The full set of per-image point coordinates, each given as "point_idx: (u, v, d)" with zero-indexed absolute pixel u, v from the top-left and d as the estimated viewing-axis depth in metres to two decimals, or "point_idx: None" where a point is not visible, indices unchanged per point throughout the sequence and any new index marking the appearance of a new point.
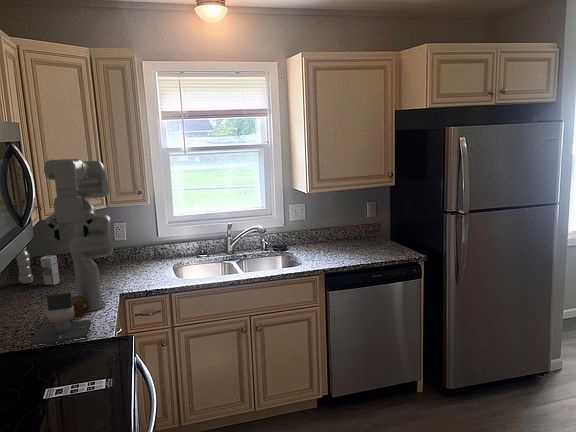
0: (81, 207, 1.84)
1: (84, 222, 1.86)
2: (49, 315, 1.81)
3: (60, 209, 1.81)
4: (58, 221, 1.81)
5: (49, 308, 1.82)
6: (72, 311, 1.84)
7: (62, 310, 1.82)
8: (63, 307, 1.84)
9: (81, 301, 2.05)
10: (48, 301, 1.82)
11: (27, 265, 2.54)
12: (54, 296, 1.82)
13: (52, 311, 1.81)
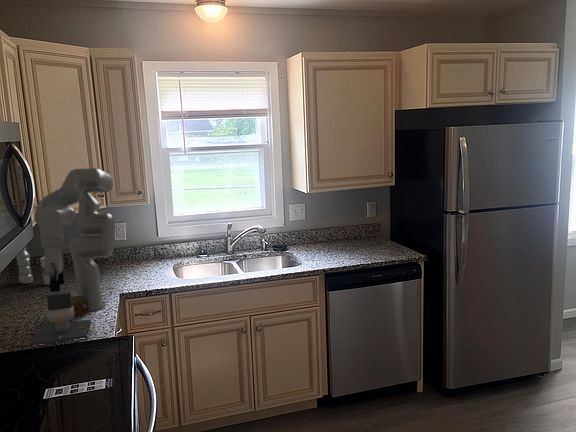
0: None
1: (61, 269, 1.87)
2: (49, 315, 1.81)
3: (59, 258, 1.78)
4: (59, 271, 1.78)
5: (49, 308, 1.82)
6: (72, 311, 1.84)
7: (62, 310, 1.82)
8: (63, 307, 1.84)
9: (81, 301, 2.05)
10: (48, 301, 1.82)
11: (27, 265, 2.54)
12: (54, 296, 1.82)
13: (52, 311, 1.81)
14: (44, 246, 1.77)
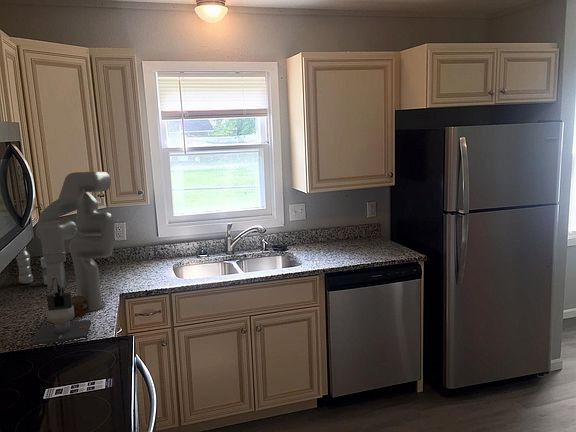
0: None
1: None
2: (49, 315, 1.81)
3: (61, 273, 1.80)
4: (61, 285, 1.79)
5: (49, 308, 1.82)
6: (72, 311, 1.84)
7: (62, 310, 1.82)
8: (63, 307, 1.84)
9: (81, 301, 2.05)
10: (48, 301, 1.82)
11: (27, 265, 2.54)
12: None
13: (52, 311, 1.81)
14: (46, 261, 1.78)
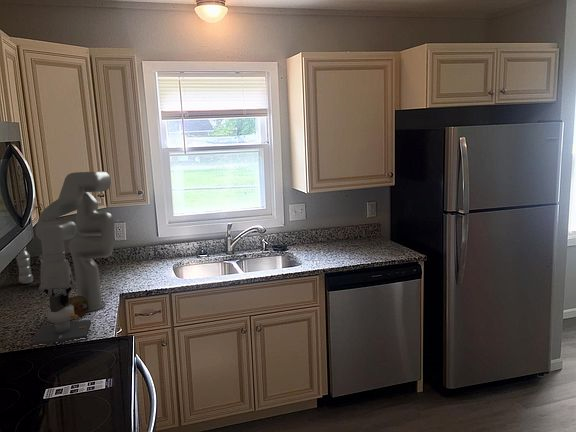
0: None
1: None
2: (61, 315, 1.81)
3: None
4: None
5: (56, 309, 1.81)
6: None
7: (69, 307, 1.85)
8: (65, 306, 1.85)
9: (81, 301, 2.05)
10: (55, 302, 1.80)
11: (27, 265, 2.54)
12: (59, 296, 1.82)
13: (62, 310, 1.82)
14: (60, 260, 1.79)
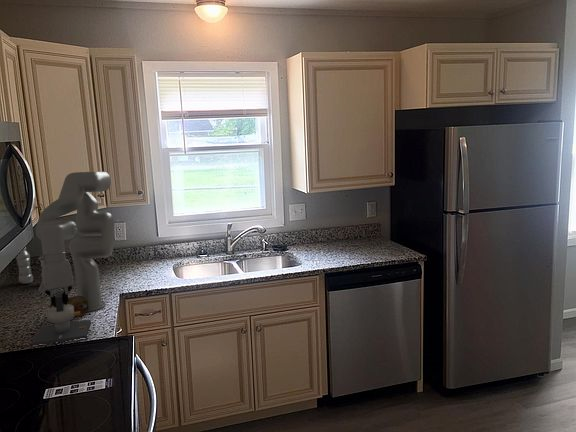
0: None
1: None
2: (68, 313, 1.82)
3: None
4: None
5: (63, 308, 1.81)
6: None
7: (69, 306, 1.86)
8: (63, 306, 1.86)
9: (81, 301, 2.05)
10: (62, 301, 1.81)
11: (27, 265, 2.54)
12: (62, 295, 1.83)
13: (68, 309, 1.83)
14: (64, 259, 1.81)
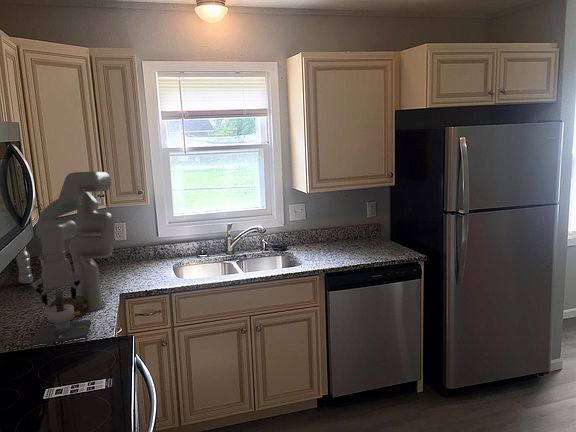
0: None
1: None
2: (68, 313, 1.82)
3: None
4: None
5: (63, 308, 1.81)
6: None
7: (69, 306, 1.86)
8: (63, 306, 1.86)
9: (81, 301, 2.05)
10: (62, 301, 1.81)
11: (27, 265, 2.54)
12: (62, 295, 1.83)
13: (68, 309, 1.83)
14: (64, 258, 1.81)
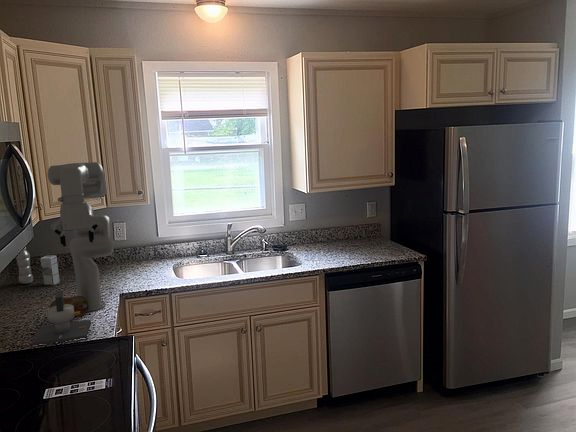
0: None
1: None
2: (68, 313, 1.82)
3: None
4: None
5: (63, 308, 1.81)
6: None
7: (69, 306, 1.86)
8: (63, 306, 1.86)
9: (81, 301, 2.05)
10: (62, 301, 1.81)
11: (27, 265, 2.54)
12: (62, 295, 1.83)
13: (68, 309, 1.83)
14: (82, 201, 1.84)
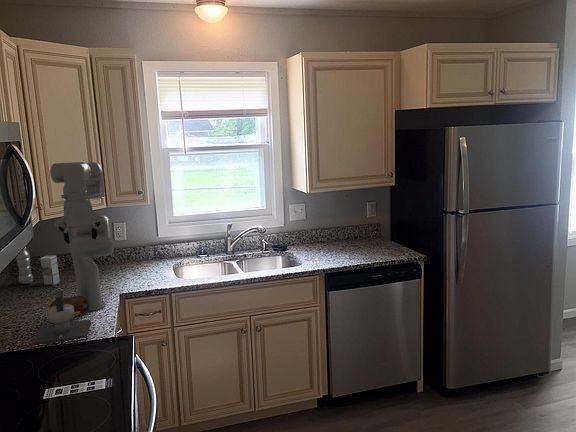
0: None
1: None
2: (68, 313, 1.82)
3: None
4: None
5: (63, 308, 1.81)
6: None
7: (69, 306, 1.86)
8: (63, 306, 1.86)
9: (81, 301, 2.05)
10: (62, 301, 1.81)
11: (27, 265, 2.54)
12: (62, 295, 1.83)
13: (68, 309, 1.83)
14: (86, 198, 1.85)
